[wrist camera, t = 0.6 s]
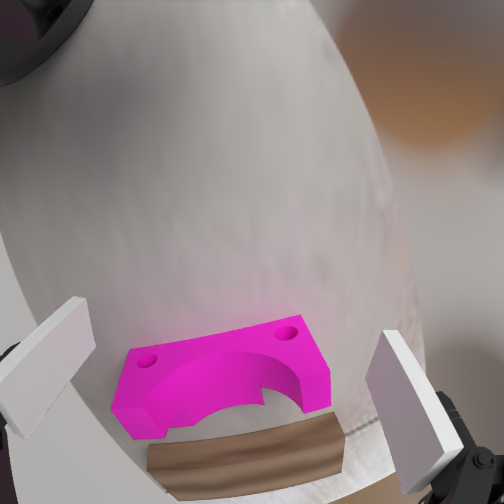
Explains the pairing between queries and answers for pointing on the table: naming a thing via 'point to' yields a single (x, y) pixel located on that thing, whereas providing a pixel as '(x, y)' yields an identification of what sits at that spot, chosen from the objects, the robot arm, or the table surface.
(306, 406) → the toy block
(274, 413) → the table surface
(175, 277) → the table surface
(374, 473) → the table surface
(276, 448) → the base brick
